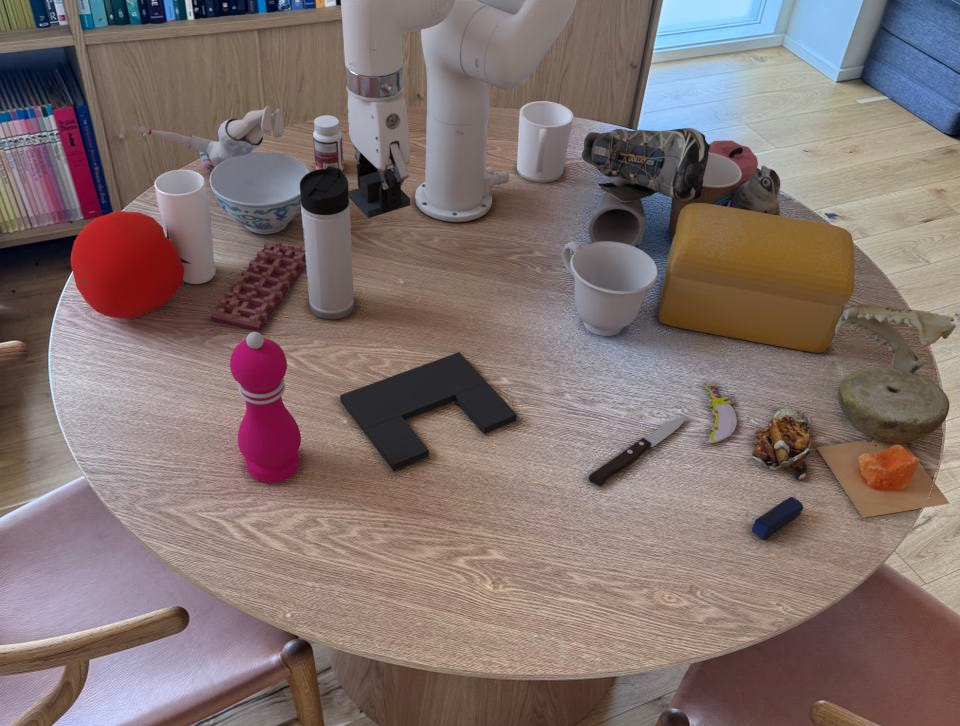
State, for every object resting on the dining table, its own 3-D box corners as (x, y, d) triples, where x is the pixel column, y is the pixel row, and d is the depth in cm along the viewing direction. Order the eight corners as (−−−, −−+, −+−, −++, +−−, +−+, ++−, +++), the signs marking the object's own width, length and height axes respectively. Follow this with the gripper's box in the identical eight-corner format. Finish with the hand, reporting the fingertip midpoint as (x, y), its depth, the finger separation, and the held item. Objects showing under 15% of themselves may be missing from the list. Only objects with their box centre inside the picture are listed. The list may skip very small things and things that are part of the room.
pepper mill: (245, 443, 115) (222, 312, 100) (304, 442, 115) (290, 312, 100) (240, 487, 110) (214, 356, 95) (302, 486, 111) (287, 356, 96)
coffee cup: (694, 262, 147) (713, 193, 138) (645, 232, 151) (660, 163, 143) (734, 240, 152) (755, 172, 143) (686, 211, 156) (703, 144, 148)
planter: (583, 140, 161) (591, 203, 142) (633, 143, 162) (648, 207, 142) (577, 183, 167) (585, 251, 147) (626, 186, 167) (640, 254, 147)
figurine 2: (701, 198, 139) (754, 148, 137) (724, 239, 156) (772, 195, 154) (739, 237, 136) (794, 186, 134) (759, 274, 154) (808, 230, 151)
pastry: (811, 419, 124) (820, 399, 121) (805, 482, 116) (815, 462, 114) (758, 406, 125) (766, 386, 122) (749, 468, 117) (757, 448, 115)
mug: (517, 154, 166) (522, 98, 158) (567, 161, 165) (575, 104, 158) (509, 186, 159) (515, 129, 151) (562, 193, 158) (570, 136, 150)
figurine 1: (364, 161, 138) (289, 201, 164) (368, 122, 138) (292, 168, 163) (168, 108, 123) (118, 161, 148) (171, 63, 123) (121, 124, 148)
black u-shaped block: (459, 358, 128) (459, 351, 127) (516, 421, 120) (517, 414, 119) (340, 401, 121) (339, 394, 120) (393, 471, 113) (393, 464, 112)
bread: (655, 324, 135) (678, 235, 124) (663, 274, 144) (685, 186, 133) (826, 356, 133) (865, 267, 122) (823, 303, 141) (859, 215, 130)
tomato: (120, 337, 121) (212, 304, 129) (84, 231, 115) (183, 203, 122) (71, 319, 132) (159, 290, 139) (36, 221, 125) (130, 196, 133)
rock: (815, 448, 120) (826, 424, 117) (898, 436, 123) (911, 412, 120) (862, 518, 113) (875, 494, 110) (950, 503, 115) (965, 480, 112)
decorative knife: (743, 443, 119) (704, 441, 119) (742, 446, 120) (703, 444, 119) (730, 384, 127) (693, 382, 127) (729, 387, 127) (692, 385, 127)
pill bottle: (326, 158, 161) (323, 111, 155) (349, 166, 160) (347, 119, 153) (309, 169, 158) (305, 122, 152) (332, 178, 157) (329, 130, 151)
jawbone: (916, 363, 133) (909, 403, 129) (825, 330, 135) (815, 369, 130) (962, 302, 123) (955, 344, 119) (862, 268, 125) (853, 308, 120)
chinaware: (274, 261, 140) (269, 215, 134) (196, 228, 144) (188, 183, 138) (334, 216, 149) (331, 171, 143) (258, 186, 153) (253, 142, 148)
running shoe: (707, 222, 133) (631, 212, 129) (625, 199, 157) (559, 190, 154) (728, 132, 129) (650, 119, 125) (640, 122, 153) (573, 111, 149)
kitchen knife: (600, 483, 112) (588, 474, 113) (599, 489, 113) (587, 480, 114) (692, 416, 122) (680, 408, 122) (690, 422, 122) (678, 414, 123)
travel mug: (362, 298, 135) (357, 171, 121) (342, 324, 131) (335, 196, 116) (322, 287, 136) (313, 161, 122) (302, 313, 132) (290, 185, 117)
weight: (829, 360, 126) (820, 391, 130) (859, 419, 116) (849, 451, 119) (930, 361, 126) (918, 392, 130) (969, 420, 116) (955, 451, 119)
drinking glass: (210, 292, 134) (193, 198, 123) (165, 284, 135) (144, 190, 124) (228, 265, 139) (213, 173, 127) (185, 258, 139) (166, 165, 128)
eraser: (805, 505, 111) (768, 530, 108) (799, 517, 112) (763, 542, 109) (791, 493, 112) (754, 518, 109) (785, 506, 113) (749, 530, 110)
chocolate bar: (312, 256, 141) (311, 245, 140) (259, 331, 129) (258, 320, 127) (268, 246, 142) (266, 235, 141) (211, 320, 130) (209, 308, 128)
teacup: (584, 279, 142) (594, 221, 135) (661, 327, 135) (676, 269, 128) (529, 311, 136) (537, 252, 128) (607, 362, 129) (620, 303, 122)
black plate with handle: (390, 185, 140) (389, 160, 137) (410, 205, 137) (410, 179, 134) (348, 198, 138) (347, 172, 135) (368, 218, 135) (366, 192, 131)
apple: (754, 194, 162) (771, 140, 154) (736, 216, 157) (752, 161, 149) (703, 176, 165) (718, 122, 158) (683, 197, 160) (697, 142, 152)
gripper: (432, 99, 120) (431, 220, 134) (368, 44, 129) (374, 163, 143) (380, 113, 117) (385, 235, 131) (319, 56, 126) (329, 176, 140)
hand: (379, 196), depth 137 cm, fingers closed on black plate with handle, 6 cm apart
